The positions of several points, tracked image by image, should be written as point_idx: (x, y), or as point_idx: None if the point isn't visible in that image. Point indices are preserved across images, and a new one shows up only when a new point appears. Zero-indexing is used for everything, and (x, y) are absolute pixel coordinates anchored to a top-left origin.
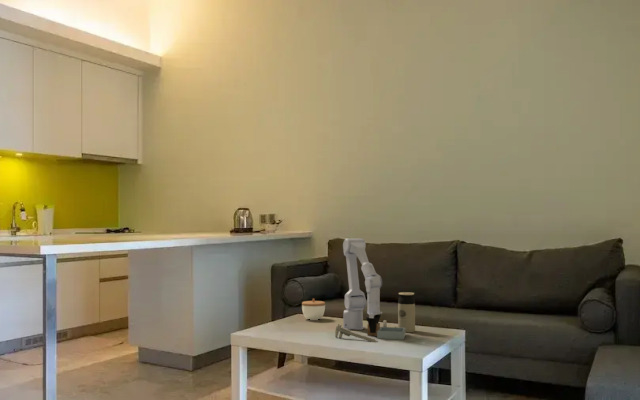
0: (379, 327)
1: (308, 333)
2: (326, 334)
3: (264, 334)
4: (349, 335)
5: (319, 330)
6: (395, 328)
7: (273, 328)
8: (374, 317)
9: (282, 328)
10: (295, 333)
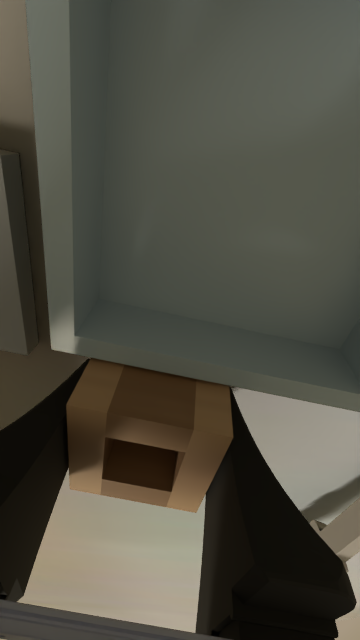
0: (118, 369)
1: (153, 578)
2: (171, 548)
3: (183, 629)
4: (320, 524)
5: (73, 552)
6: (77, 102)
7: (76, 612)
8: (282, 628)
9: (68, 603)
10: (158, 596)
